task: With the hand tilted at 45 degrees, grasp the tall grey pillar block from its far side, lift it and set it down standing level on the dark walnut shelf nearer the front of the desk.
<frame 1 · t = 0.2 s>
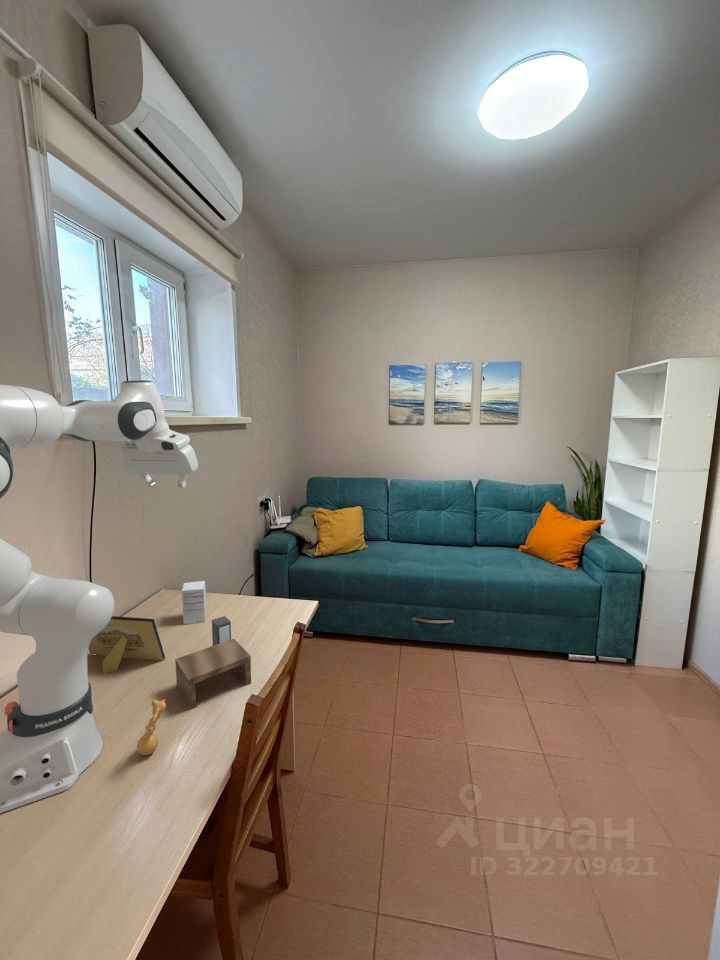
hand: (167, 486, 112), 52 cm above the table, tool tilted 20°, fingers open, 8 cm apart
supplement box: (195, 619, 141), on the table
walnut shelf: (214, 684, 106), on the table
figurine: (153, 752, 84), on the table
picture frame: (118, 665, 114), on the table
tall grey pillar block: (222, 654, 120), on the table
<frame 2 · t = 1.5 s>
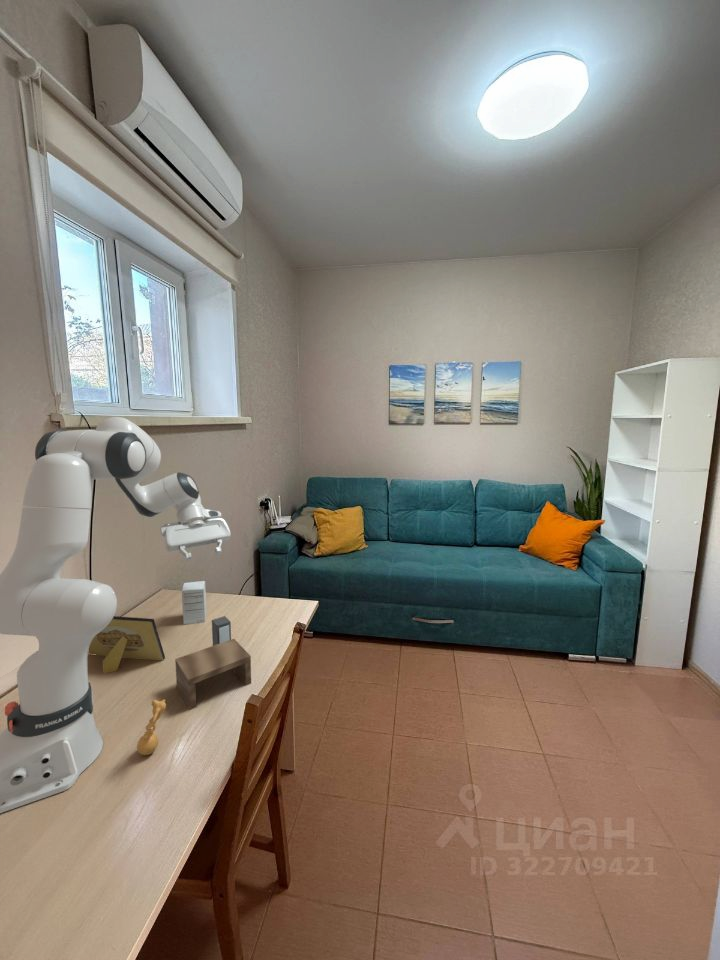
hand: (204, 556, 125), 28 cm above the table, tool tilted 45°, fingers open, 8 cm apart
nothing on the table moved.
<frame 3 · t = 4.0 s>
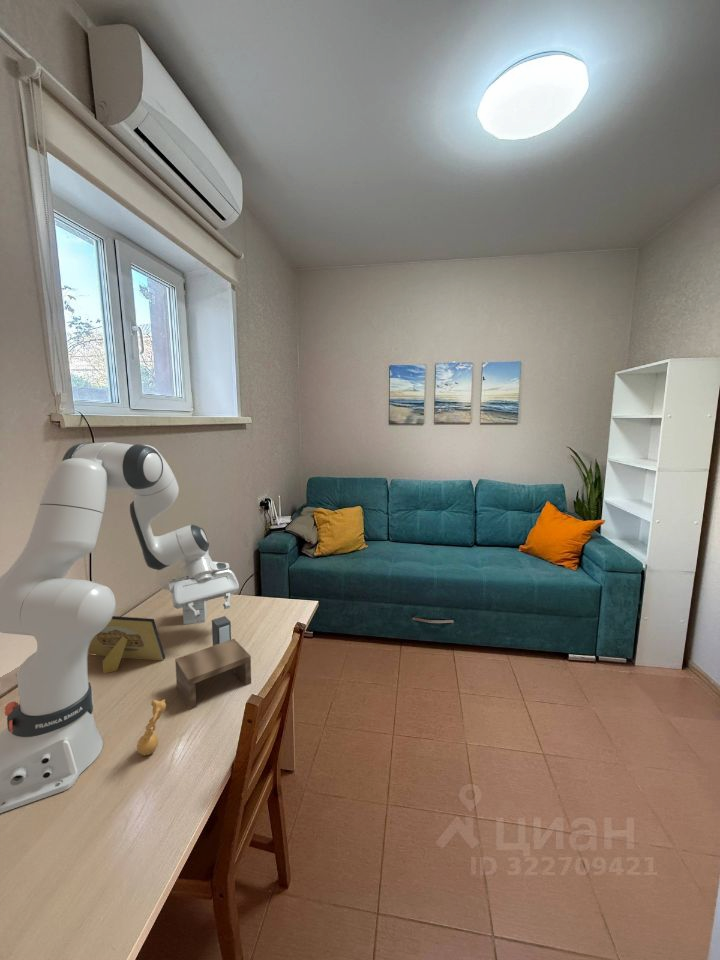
hand: (212, 612, 123), 11 cm above the table, tool tilted 45°, fingers open, 8 cm apart
nothing on the table moved.
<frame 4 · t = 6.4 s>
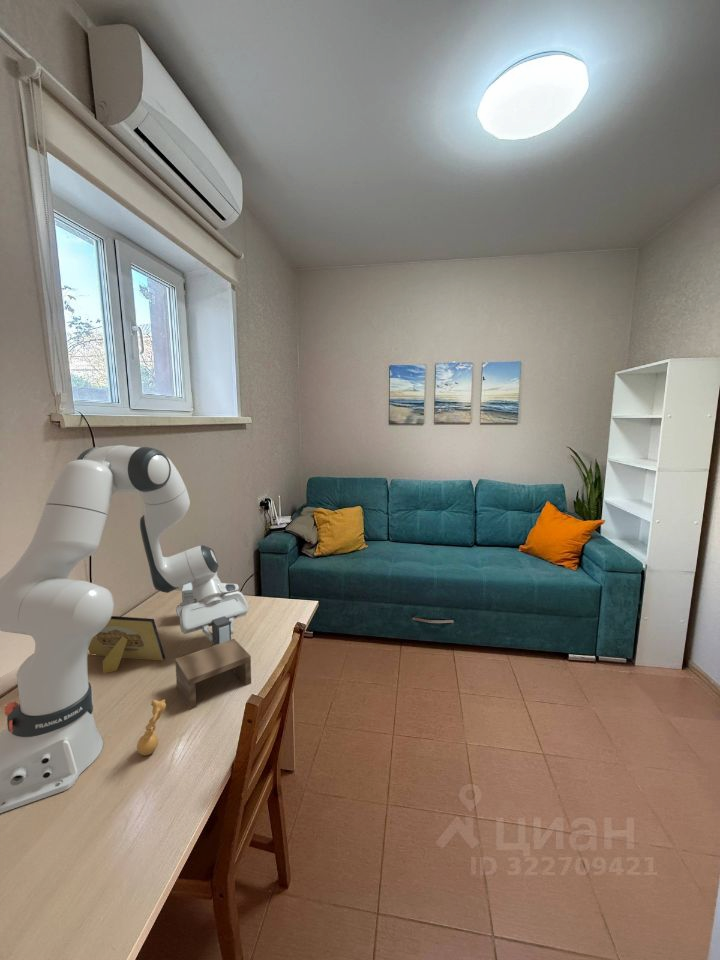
hand: (222, 637, 119), 6 cm above the table, tool tilted 45°, fingers closed on tall grey pillar block, 4 cm apart
tall grey pillar block: (222, 654, 120), on the table, touching gripper
everything else where it was.
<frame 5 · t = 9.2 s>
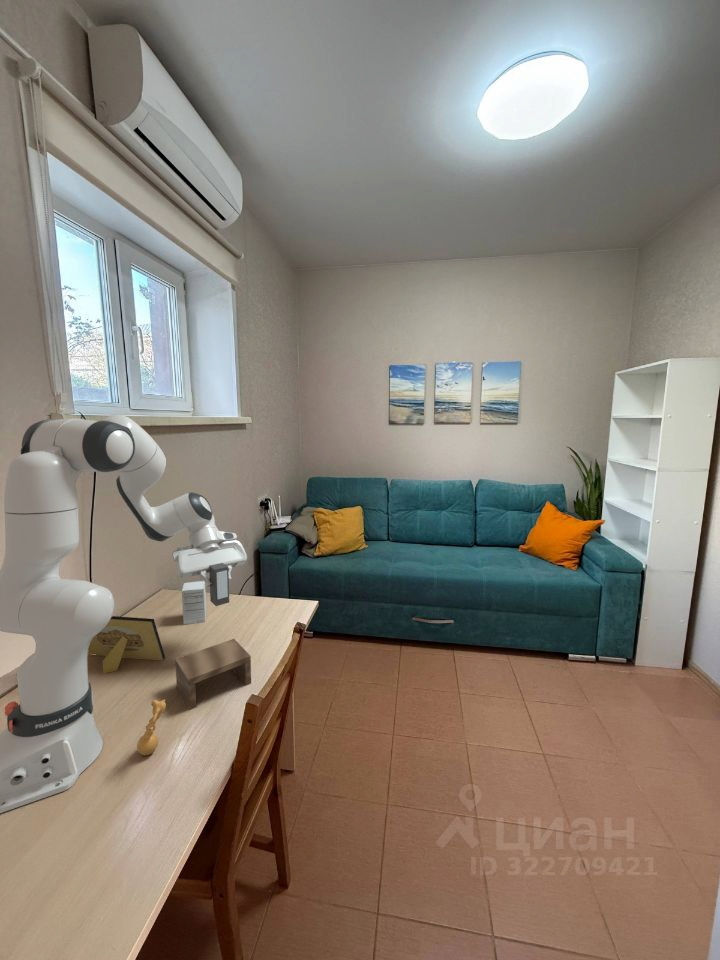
hand: (219, 583, 116), 23 cm above the table, tool tilted 45°, fingers closed on tall grey pillar block, 4 cm apart
tall grey pillar block: (219, 601, 117), point 17 cm above the table, touching gripper
everything else where it was.
when the fingers open (15 cm above the table, at t = 12.5 s): tall grey pillar block drops 1 cm, resting on walnut shelf.
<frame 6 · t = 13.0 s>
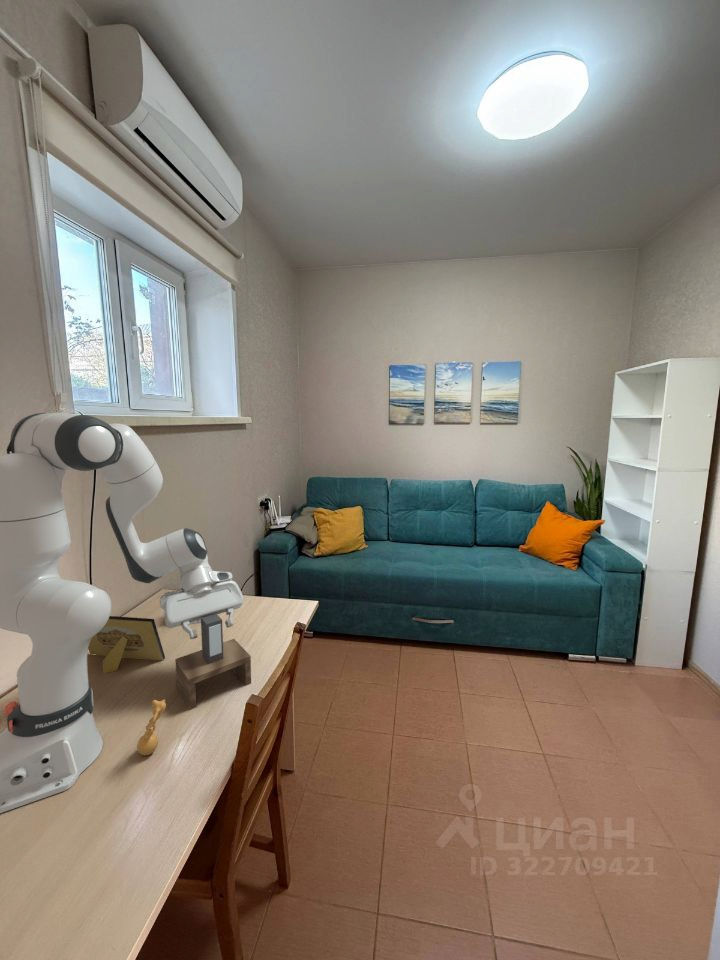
hand: (212, 632, 103), 15 cm above the table, tool tilted 45°, fingers open, 8 cm apart
tall grey pillar block: (212, 657, 104), point 8 cm above the table, touching walnut shelf
everything else where it was.
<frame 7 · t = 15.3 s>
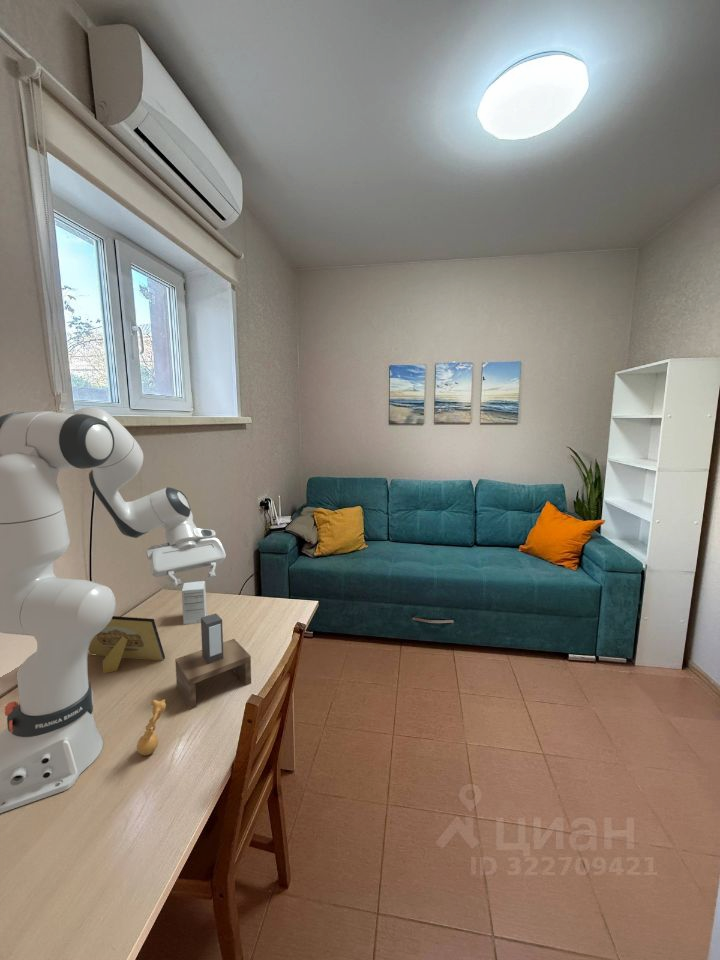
hand: (196, 582, 111), 25 cm above the table, tool tilted 45°, fingers open, 8 cm apart
nothing on the table moved.
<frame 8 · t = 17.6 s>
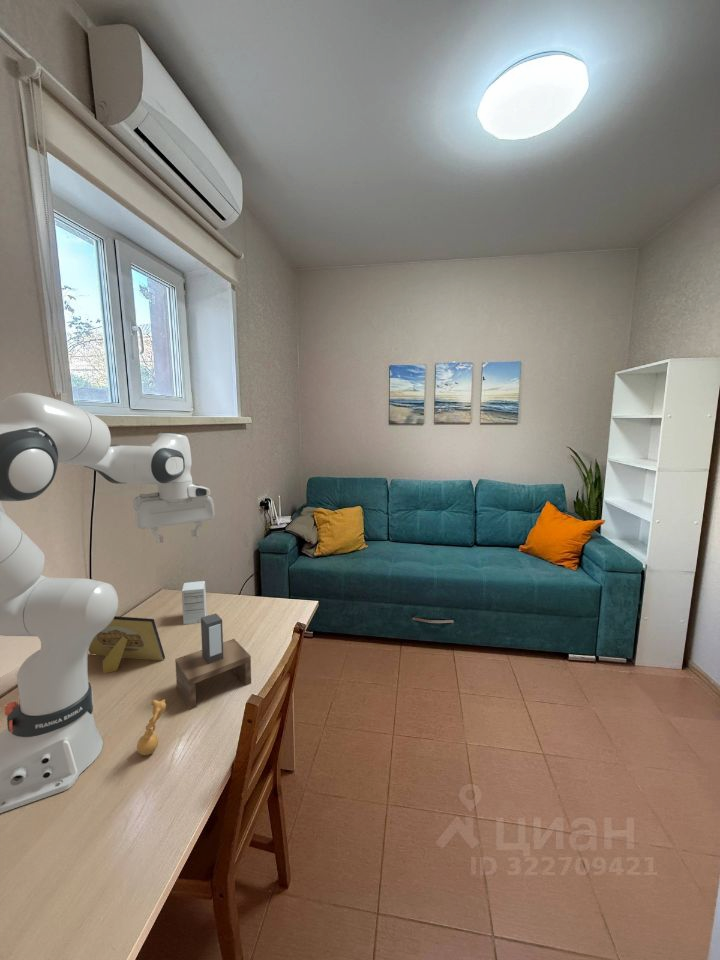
hand: (177, 539, 111), 37 cm above the table, tool pointing down, fingers open, 8 cm apart
nothing on the table moved.
at the end: tall grey pillar block inside the target area on the walnut shelf (0.1 cm from its centre), point 8.0 cm above the walnut shelf's base; tall grey pillar block tilted 0°; the gripper is holding nothing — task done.
